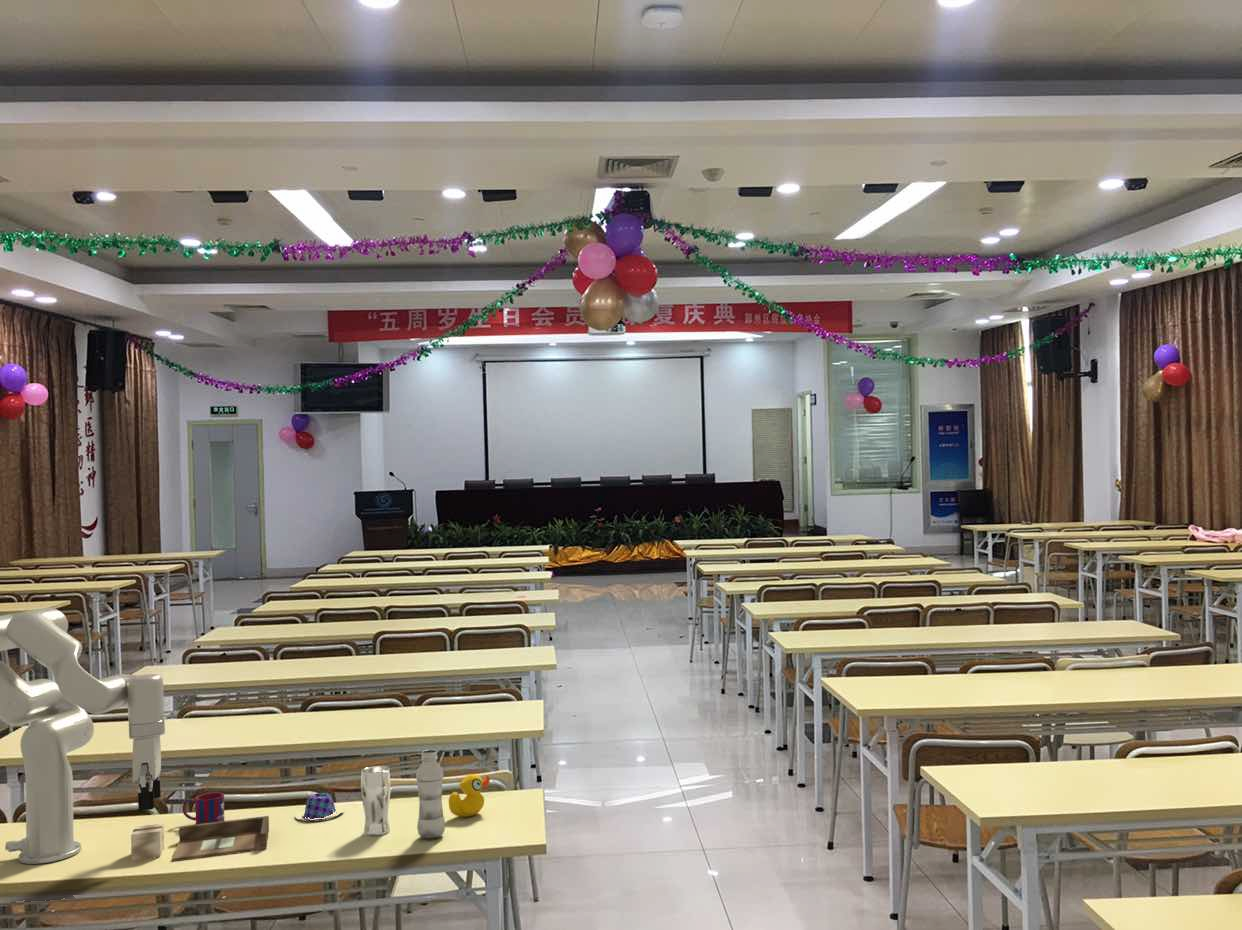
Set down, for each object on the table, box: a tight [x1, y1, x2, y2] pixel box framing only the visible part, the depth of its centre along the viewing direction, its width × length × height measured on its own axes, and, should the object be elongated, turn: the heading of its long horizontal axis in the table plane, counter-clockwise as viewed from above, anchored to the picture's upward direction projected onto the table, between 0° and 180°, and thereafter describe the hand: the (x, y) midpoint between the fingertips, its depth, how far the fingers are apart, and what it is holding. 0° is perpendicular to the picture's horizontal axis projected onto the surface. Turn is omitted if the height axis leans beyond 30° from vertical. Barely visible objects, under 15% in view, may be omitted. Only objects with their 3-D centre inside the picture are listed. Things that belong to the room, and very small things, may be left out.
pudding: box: [294, 792, 336, 822], centre depth 254 cm, size 12×12×5 cm
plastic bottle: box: [415, 749, 446, 840], centre depth 234 cm, size 6×7×20 cm
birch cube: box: [130, 822, 165, 862], centre depth 228 cm, size 6×6×6 cm
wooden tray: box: [171, 815, 270, 862], centre depth 233 cm, size 20×14×4 cm
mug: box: [182, 792, 225, 825], centre depth 250 cm, size 7×10×7 cm
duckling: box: [448, 773, 491, 818], centre depth 250 cm, size 11×5×10 cm, turn 127°
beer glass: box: [360, 765, 392, 837], centre depth 239 cm, size 7×7×15 cm
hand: (149, 803), depth 229 cm, fingers open, 9 cm apart
